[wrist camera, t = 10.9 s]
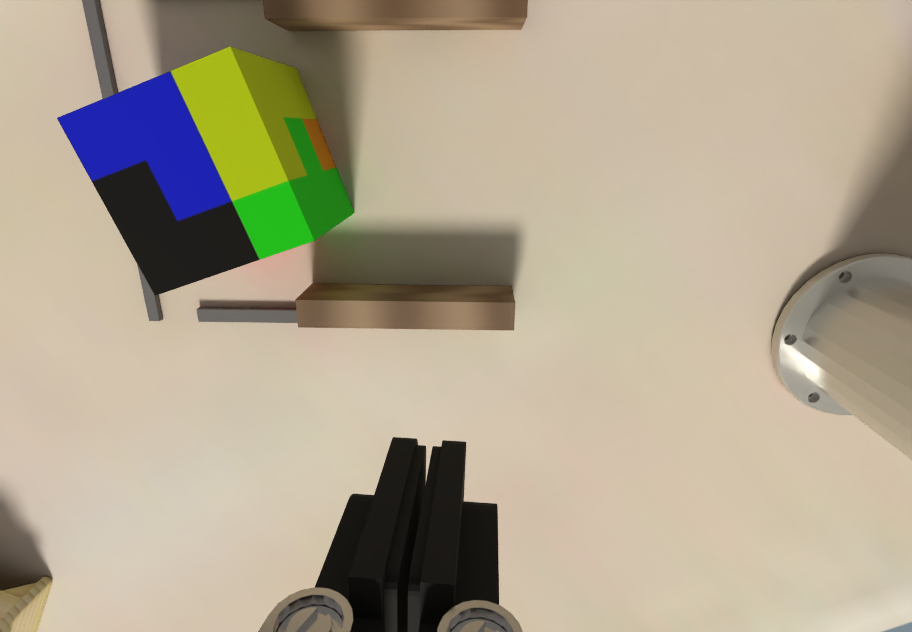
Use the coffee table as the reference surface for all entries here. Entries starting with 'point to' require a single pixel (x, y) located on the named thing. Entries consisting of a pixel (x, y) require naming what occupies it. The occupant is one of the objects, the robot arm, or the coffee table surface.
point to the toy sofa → (23, 606)
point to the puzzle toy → (210, 166)
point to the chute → (381, 305)
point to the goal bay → (151, 300)
